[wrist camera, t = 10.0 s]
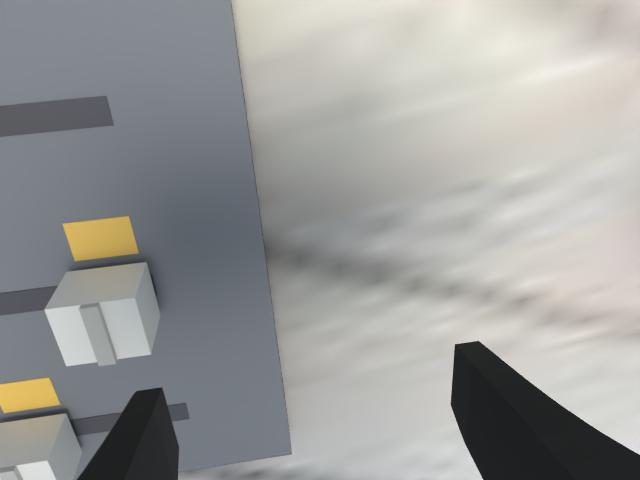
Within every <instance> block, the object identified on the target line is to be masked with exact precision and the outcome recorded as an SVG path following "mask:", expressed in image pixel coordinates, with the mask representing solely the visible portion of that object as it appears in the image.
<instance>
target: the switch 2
mask: <svg viewBox="0 0 640 480" xmlns="http://www.w3.org/2000/svg"><path fill="white" fill-rule="evenodd" d="M44 310H45V313H46V315H47V318H48V321H49V323H50V326H51V328H52V331H53V333H54V336H55V339H56V341H57V344H58V346H59V349H60V351H61V354H62V357H63V359H64V362H65V364H66V366H73V365H80V364H88V363H95V362H98V365H99V366H105V365H112V364H116V362H117V359H123V358H130V357H138V356H145V355H151V353H152V349H153V344H154V340H155V336H156V332H157V327H158V323H159V319H160V311H159V307H158V303H157V299H156V295H155V292H154V288H153V284H152V280H151V276H150V273H149V269H148V265H147V262H142V263H134V264H126V265H118V266H110V267H102V268H94V269H86V270H78V271H70V272H66V273H65V275H64V277H63V279H62V280H61V282H60V284H59V285H58V287H57V289H56V290H55V292H54V294H53V296H52V297H51V299H50V301H49V302H48V304H47V306H46V308H45V309H44Z"/></svg>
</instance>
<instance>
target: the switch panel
mask: <svg viewBox="0 0 640 480" xmlns="http://www.w3.org/2000/svg"><path fill="white" fill-rule="evenodd" d="M142 262H147V265H148V269H149V273H150V276H151V280H152V284H153V288H154V292H155V295H156V299H157V303H158V307H159V311H160V319H159V323H158V327H157V332H156V336H155V340H154V344H153V349H152V353H151V355H145V356H138V357H130V358H123V359H117V362H116V364H112V365H105V366H99V365H98V362H95V363H88V364H80V365H73V366H66V364H65V362H64V359H63V357H62V354H61V351H60V349H59V346H58V344H57V341H56V339H55V336H54V333H53V331H52V328H51V326H50V323H49V321H48V318H47V315H46V313H45V310H44V309H45V308H46V306H47V304H48V302H49V301H50V299H51V297H52V296H53V294H54V292H55V290H56V289H57V287H58V285H59V284H60V282H61V280H62V279H63V277H64V275H65V273H66V272H70V271H78V270H86V269H94V268H102V267H110V266H118V265H126V264H134V263H142ZM160 387H162V388H163V392H164V395H165V399H166V402H167V406H168V409H169V413H170V416H171V420H172V423H173V427H174V431H175V434H176V438H177V441H178V445H179V464H178V472H184V471H190V470H197V469H203V468H209V467H215V466H221V465H228V464H234V463H240V462H246V461H253V460H259V459H265V458H271V457H278V456H284V455H290V454H292V452H291V442H290V433H289V425H288V418H287V410H286V403H285V395H284V388H283V381H282V373H281V366H280V359H279V351H278V344H277V337H276V329H275V322H274V314H273V307H272V300H271V292H270V285H269V278H268V270H267V263H266V256H265V248H264V241H263V233H262V226H261V219H260V211H259V204H258V197H257V189H256V182H255V175H254V167H253V160H252V152H251V145H250V138H249V130H248V123H247V116H246V108H245V101H244V94H243V86H242V79H241V71H240V64H239V57H238V49H237V42H236V35H235V27H234V20H233V13H232V5H231V0H0V423H4V422H11V421H18V420H25V419H31V418H38V417H45V416H52V415H58V414H65V413H66V414H67V416H68V419H69V421H70V424H71V426H72V428H73V431H74V433H75V436H76V438H77V441H78V443H79V445H80V448H81V450H82V455H81V458H80V461H79V464H78V467H77V470H76V473H75V476H74V479H73V480H77V478H78V477H79V476H80V474H81V473H82V472H83V470H84V469H85V467H86V466H87V464H88V463H89V462H90V460H91V459H92V457H93V456H94V454H95V453H96V451H97V450H98V448H99V447H100V445H101V444H102V443H103V441H104V440H105V438H106V436H107V435H108V433H109V432H110V430H111V429H112V427H113V426H114V424H115V423H116V421H117V419H118V418H119V416H120V415H121V413H122V411H123V410H124V408H125V407H126V405H127V403H128V402H129V400H130V399H131V397H132V395H133V394H134V393H135V392H136V391H140V390H146V389H153V388H160Z"/></svg>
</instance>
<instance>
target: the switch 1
mask: <svg viewBox="0 0 640 480" xmlns="http://www.w3.org/2000/svg"><path fill="white" fill-rule="evenodd" d="M81 455H82V450H81V448H80V445H79V443H78V441H77V438H76V436H75V433H74V431H73V428H72V426H71V424H70V421H69V419H68V416H67V414H66V413H65V414H58V415H52V416H45V417H38V418H31V419H25V420H18V421H11V422H4V423H0V480H73V479H74V476H75V473H76V470H77V467H78V464H79V461H80V458H81Z"/></svg>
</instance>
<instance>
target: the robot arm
mask: <svg viewBox="0 0 640 480" xmlns="http://www.w3.org/2000/svg"><path fill="white" fill-rule="evenodd" d="M451 407H452V409H453V412H454V415H455V418H456V421H457V423H458V426H459V429H460V431H461V434H462V437H463V439H464V442H465V444H466V446H467V448H468V450H469V452H470V454H471V456H472V458H473V460H474V462H475V464H476V466H477V468H478V470H479V472H480V474H481V476H482V478H483V480H640V455H639V454H637V453H635V452H633V451H632V450H630V449H628V448H627V447H625V446H623V445H621V444H620V443H618V442H616V441H615V440H613V439H611V438H610V437H608V436H606V435H605V434H603V433H601V432H600V431H598V430H597V429H595V428H594V427H592V426H590V425H589V424H587V423H586V422H584V421H583V420H581V419H580V418H579V417H577V416H576V415H574V414H573V413H571V412H570V411H568V410H567V409H565V408H564V407H562V406H561V405H560V404H558V403H557V402H556V401H554V400H553V399H551V398H550V397H549V396H547V395H546V394H545V393H543V392H542V391H541V390H539V389H538V388H537V387H535V386H534V385H533V384H531V383H530V382H529V381H528V380H526V379H525V378H524V377H523V376H521V375H520V374H519V373H518V372H516V371H515V370H514V369H513V368H511V367H510V366H509V365H508V364H506V363H505V362H504V361H503V360H501V359H500V358H499V357H498V356H496V355H495V354H494V353H493V352H492V351H490V350H489V349H488V348H487V347H485V346H484V345H483V344H482V343H480V342H479V341H476V342H469V343H462V344H455V352H454V367H453V381H452V396H451ZM178 464H179V445H178V441H177V438H176V434H175V431H174V427H173V423H172V420H171V416H170V413H169V409H168V406H167V402H166V399H165V395H164V392H163V388H162V387H160V388H153V389H146V390H140V391H136V392H135V393H134V394H133V395H132V397H131V399H130V400H129V402H128V403H127V405H126V407H125V408H124V410H123V411H122V413H121V415H120V416H119V418H118V419H117V421H116V423H115V424H114V426H113V427H112V429H111V430H110V432H109V433H108V435H107V436H106V438H105V440H104V441H103V443H102V444H101V445H100V447H99V448H98V450H97V451H96V453H95V454H94V456H93V457H92V459H91V460H90V462H89V463H88V464H87V466H86V467H85V469H84V470H83V472H82V473H81V474H80V476H79V477H78V478H77V480H178Z"/></svg>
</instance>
